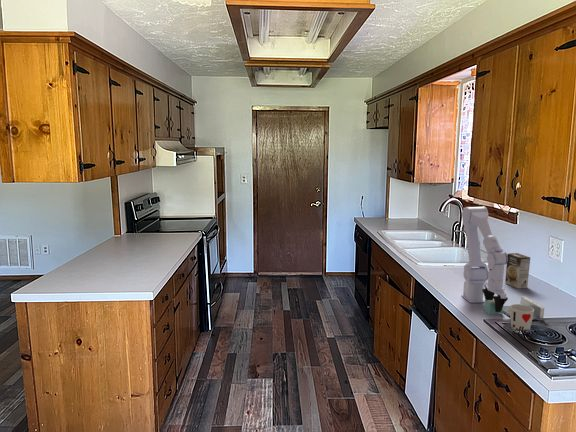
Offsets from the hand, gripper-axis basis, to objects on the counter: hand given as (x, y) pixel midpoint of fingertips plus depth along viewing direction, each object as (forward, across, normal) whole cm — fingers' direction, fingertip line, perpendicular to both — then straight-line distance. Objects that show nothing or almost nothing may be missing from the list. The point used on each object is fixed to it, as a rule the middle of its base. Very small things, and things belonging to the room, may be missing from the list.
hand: (493, 308), depth 187 cm
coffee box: (+2, +33, -30) cm, 45 cm away
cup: (+2, -20, 0) cm, 20 cm away
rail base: (+2, -3, -10) cm, 11 cm away
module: (+2, 0, 0) cm, 2 cm away
